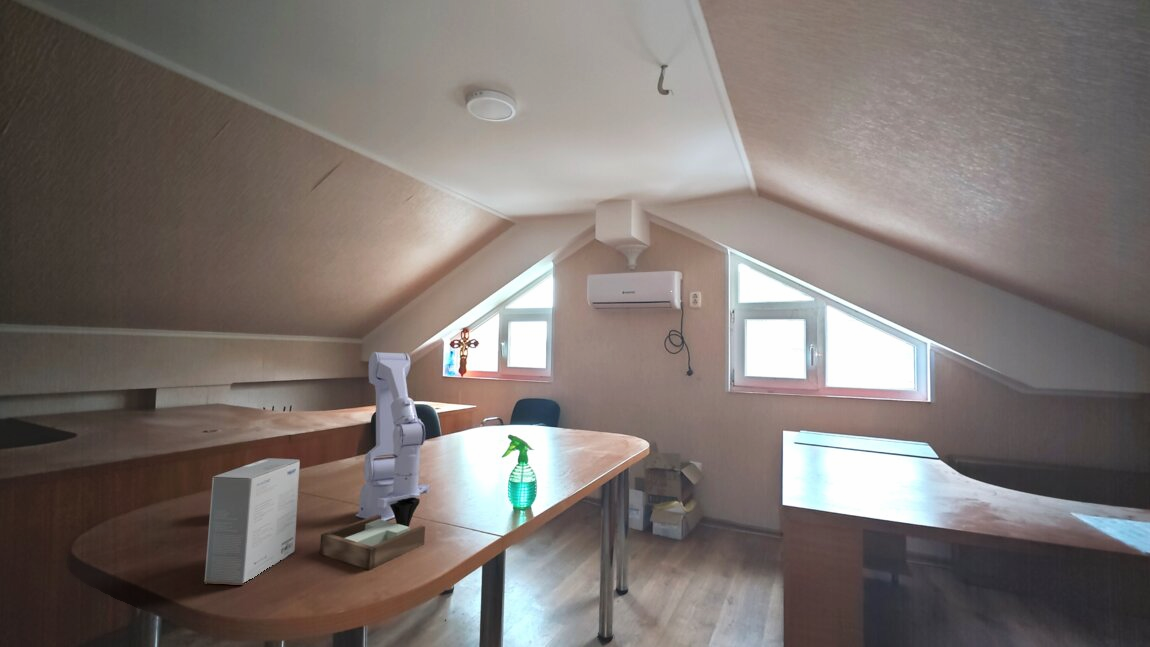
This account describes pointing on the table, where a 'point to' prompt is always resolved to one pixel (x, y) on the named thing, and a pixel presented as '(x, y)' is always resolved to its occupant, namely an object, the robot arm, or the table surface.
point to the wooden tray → (365, 554)
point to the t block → (378, 532)
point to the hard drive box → (251, 519)
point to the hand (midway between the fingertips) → (402, 530)
